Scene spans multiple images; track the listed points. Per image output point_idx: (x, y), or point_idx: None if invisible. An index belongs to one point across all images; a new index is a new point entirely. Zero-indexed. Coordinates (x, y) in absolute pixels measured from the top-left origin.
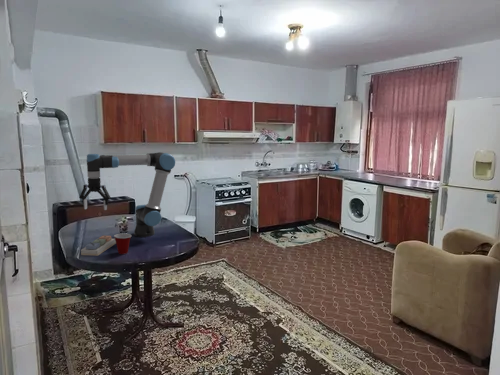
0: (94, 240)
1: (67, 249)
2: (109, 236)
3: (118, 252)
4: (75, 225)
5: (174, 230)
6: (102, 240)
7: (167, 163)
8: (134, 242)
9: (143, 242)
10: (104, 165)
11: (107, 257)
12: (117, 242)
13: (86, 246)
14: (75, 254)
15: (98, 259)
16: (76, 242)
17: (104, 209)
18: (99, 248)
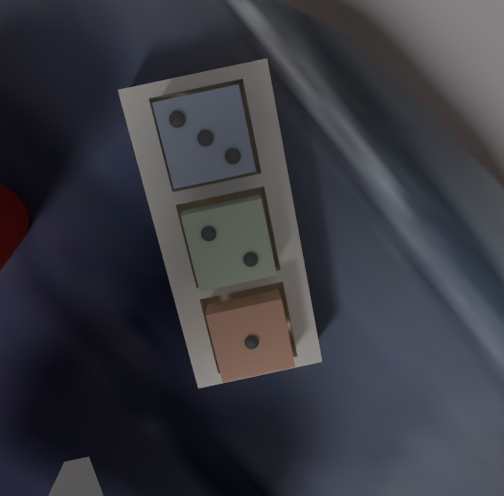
0: (268, 233)
1: (450, 134)
2: (223, 363)
3: (9, 190)
4: None
5: None
6: (202, 257)
7: None
8: (86, 426)
9: (25, 447)
10: None
11: (28, 87)
12: None
13: (232, 86)
14: (314, 59)
15: (60, 22)
16: (488, 284)
17: (72, 470)
18: (143, 143)
